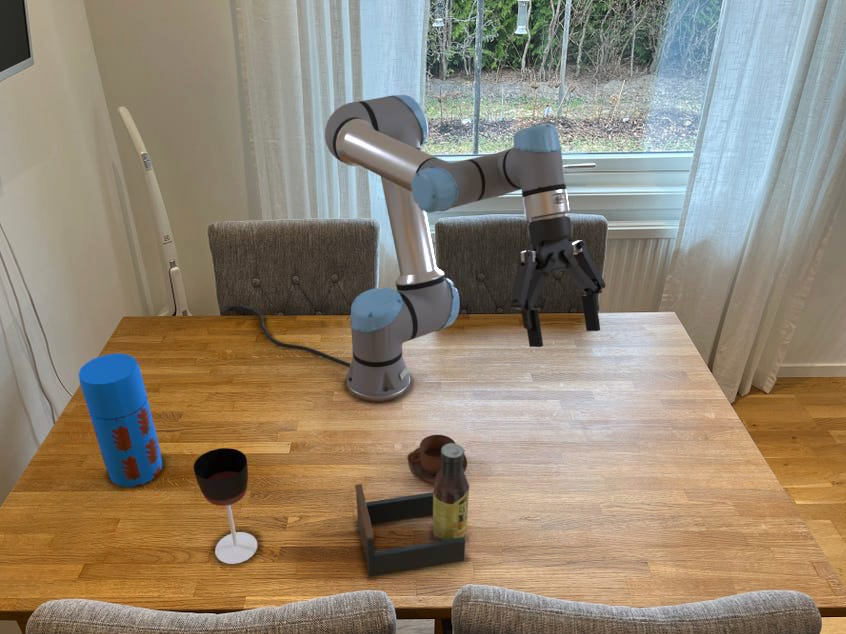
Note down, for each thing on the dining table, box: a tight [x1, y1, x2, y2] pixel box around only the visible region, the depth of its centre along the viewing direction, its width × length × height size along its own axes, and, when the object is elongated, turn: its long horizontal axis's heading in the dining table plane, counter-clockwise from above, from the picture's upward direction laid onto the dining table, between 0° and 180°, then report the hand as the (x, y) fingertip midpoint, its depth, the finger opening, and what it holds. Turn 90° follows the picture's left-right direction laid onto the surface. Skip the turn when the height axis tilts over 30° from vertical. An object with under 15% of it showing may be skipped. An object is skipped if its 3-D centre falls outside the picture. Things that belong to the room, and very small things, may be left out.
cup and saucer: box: [406, 434, 468, 485], centre depth 145 cm, size 12×12×6 cm
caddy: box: [354, 483, 466, 578], centre depth 128 cm, size 17×13×10 cm
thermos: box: [78, 353, 163, 488], centre depth 141 cm, size 11×11×25 cm
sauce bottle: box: [432, 443, 470, 542], centre depth 127 cm, size 7×6×20 cm
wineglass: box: [193, 447, 258, 565], centre depth 124 cm, size 8×9×20 cm
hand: (565, 338), depth 127 cm, fingers open, 13 cm apart
